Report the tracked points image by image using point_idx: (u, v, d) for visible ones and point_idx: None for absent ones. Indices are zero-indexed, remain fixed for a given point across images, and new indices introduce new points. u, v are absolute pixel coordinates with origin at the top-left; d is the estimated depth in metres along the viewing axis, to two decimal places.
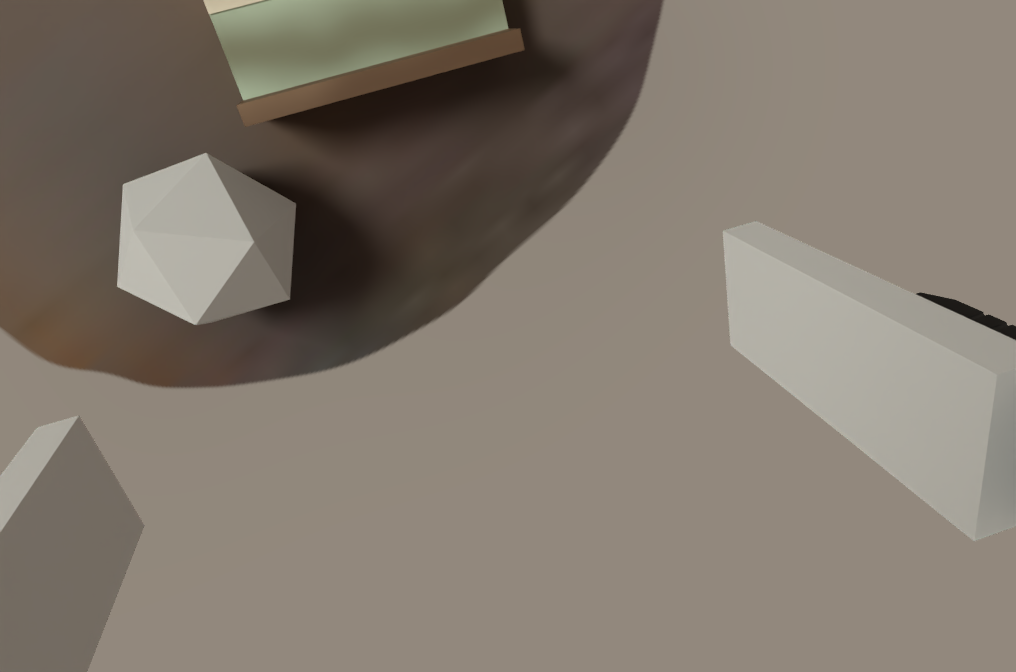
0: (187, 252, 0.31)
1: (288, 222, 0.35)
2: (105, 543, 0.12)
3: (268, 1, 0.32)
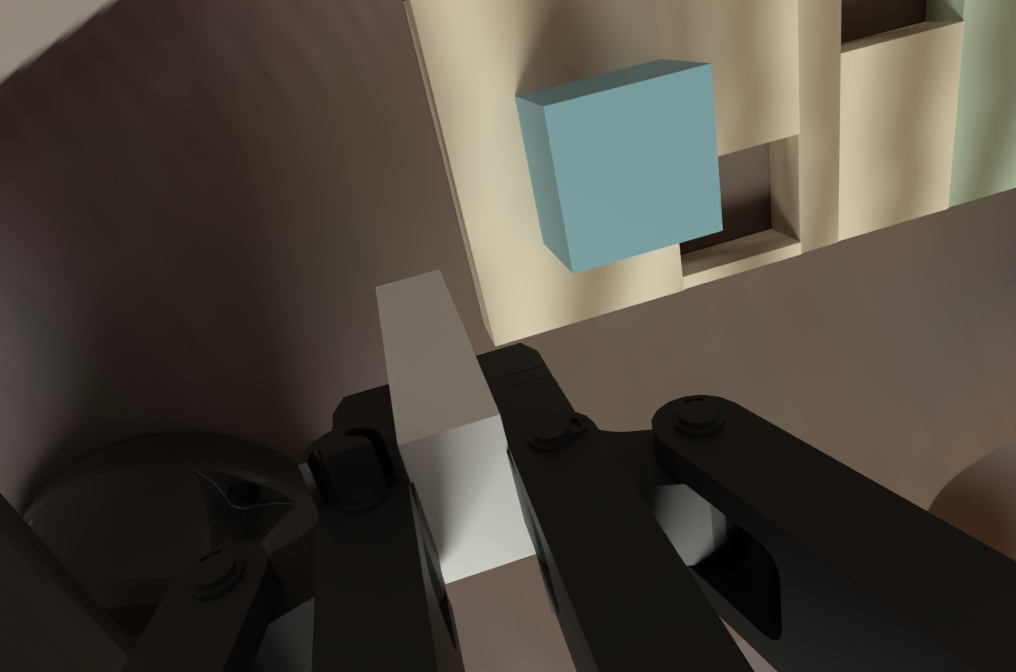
0: None
1: None
2: None
3: (952, 149, 0.32)
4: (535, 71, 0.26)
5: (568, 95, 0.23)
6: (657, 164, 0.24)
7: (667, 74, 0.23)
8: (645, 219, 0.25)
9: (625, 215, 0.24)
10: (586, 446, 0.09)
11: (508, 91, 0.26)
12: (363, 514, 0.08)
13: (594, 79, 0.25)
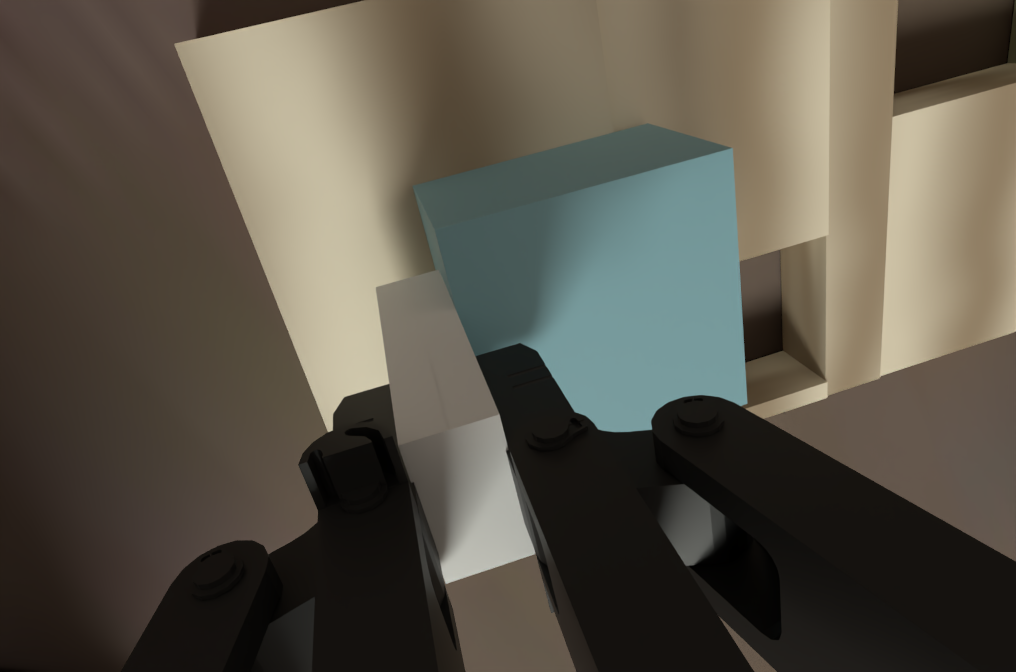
0: None
1: None
2: None
3: None
4: (407, 157, 0.16)
5: (485, 202, 0.13)
6: (640, 312, 0.14)
7: (656, 168, 0.13)
8: (621, 396, 0.15)
9: (588, 392, 0.15)
10: (586, 446, 0.09)
11: (363, 189, 0.16)
12: (363, 514, 0.08)
13: (539, 161, 0.15)
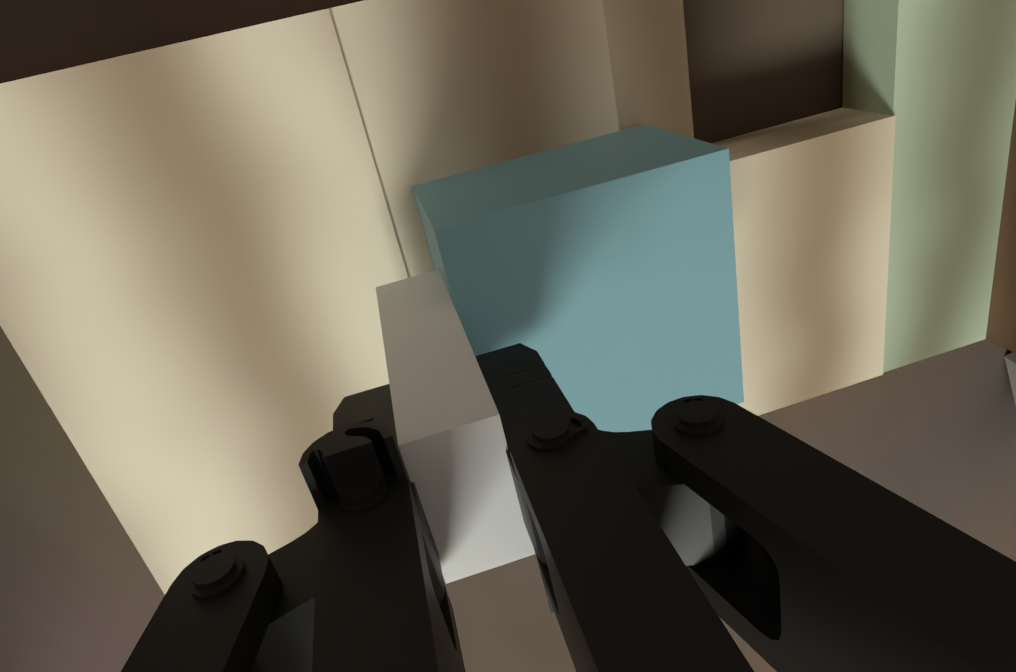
0: None
1: None
2: None
3: (886, 295, 0.21)
4: (154, 223, 0.15)
5: (484, 202, 0.14)
6: (637, 311, 0.14)
7: (653, 168, 0.13)
8: (618, 394, 0.15)
9: (586, 390, 0.15)
10: (586, 446, 0.09)
11: (109, 255, 0.15)
12: (364, 514, 0.08)
13: (537, 162, 0.16)
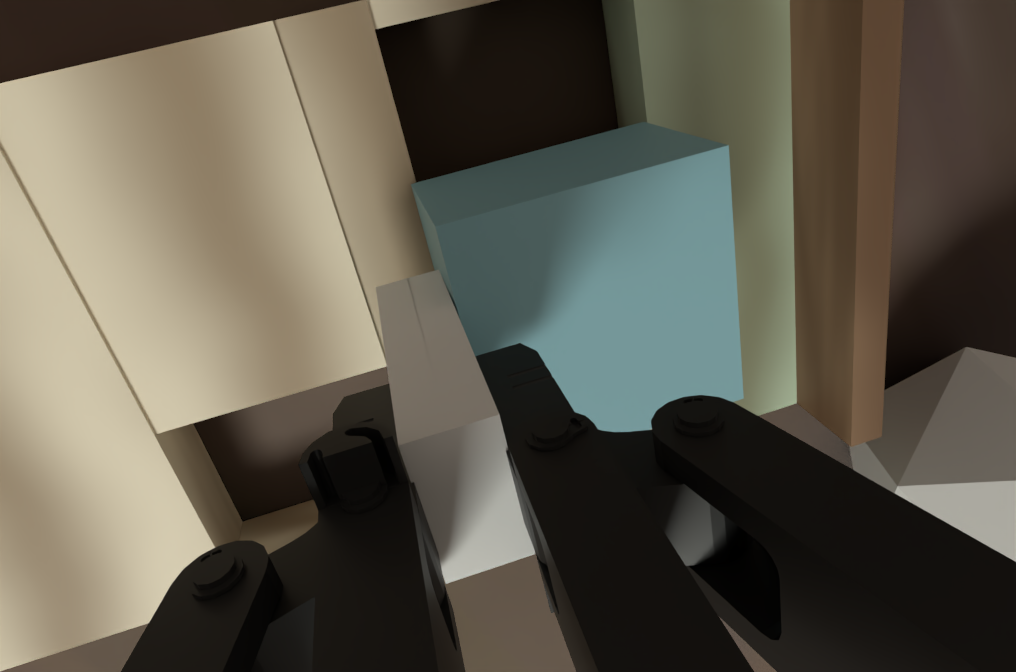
0: None
1: (1010, 371, 0.21)
2: None
3: None
4: None
5: (485, 199, 0.14)
6: (637, 308, 0.14)
7: (653, 165, 0.13)
8: (619, 391, 0.15)
9: (586, 388, 0.15)
10: (586, 446, 0.09)
11: None
12: (364, 514, 0.08)
13: (536, 159, 0.16)
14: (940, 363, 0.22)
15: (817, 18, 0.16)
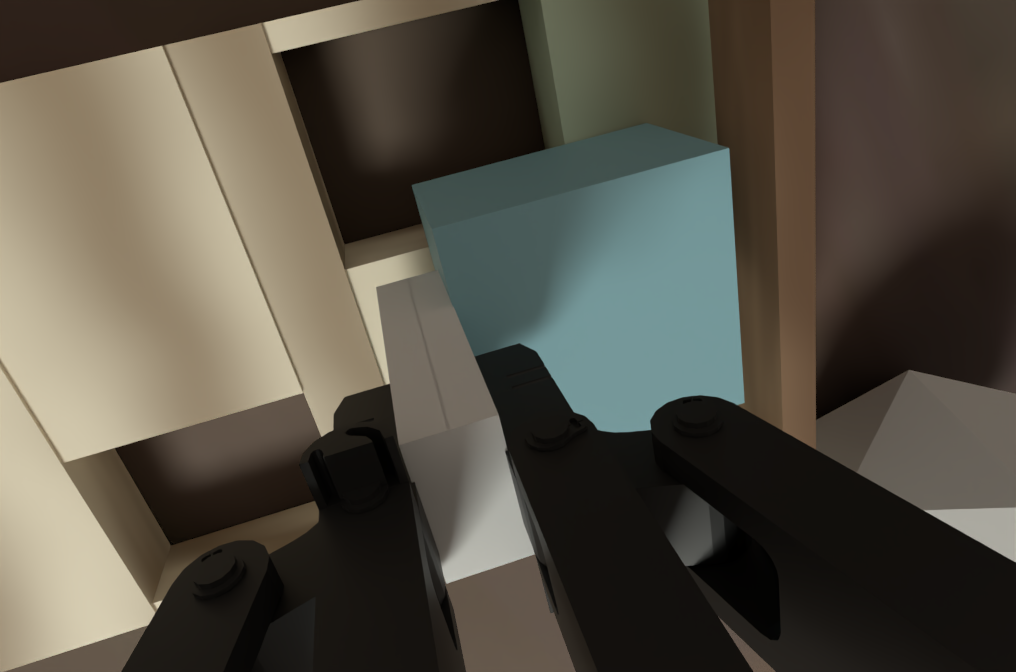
0: None
1: (952, 395, 0.20)
2: None
3: None
4: None
5: (483, 201, 0.13)
6: (637, 311, 0.14)
7: (652, 168, 0.13)
8: (617, 395, 0.15)
9: (585, 391, 0.15)
10: (585, 446, 0.09)
11: None
12: (364, 514, 0.08)
13: (537, 161, 0.16)
14: (884, 386, 0.22)
15: (733, 40, 0.15)
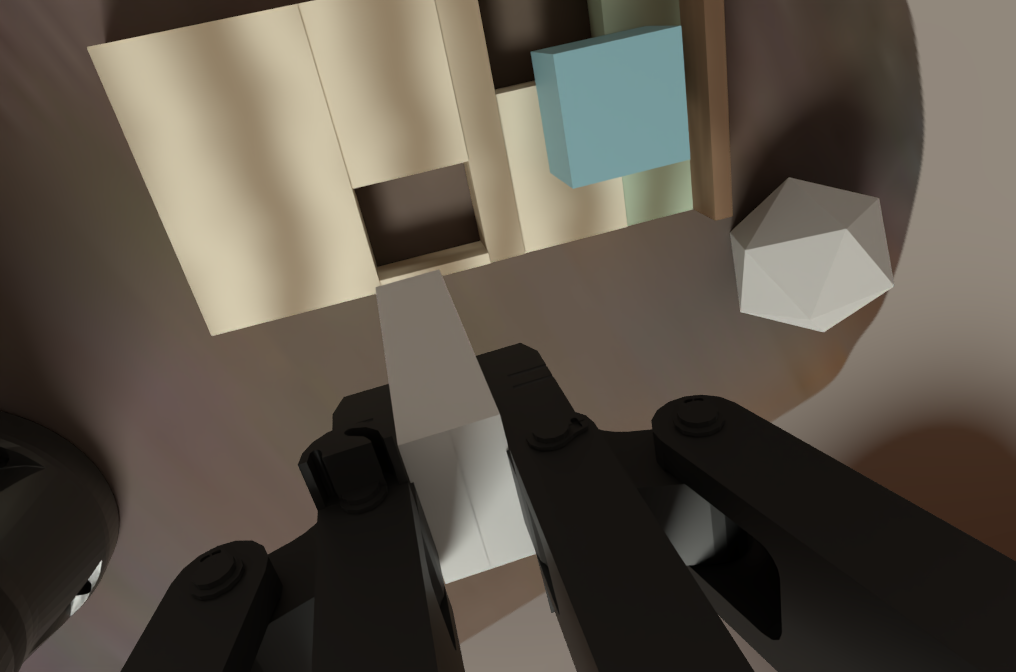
0: (838, 282, 0.36)
1: (810, 188, 0.37)
2: None
3: (622, 176, 0.37)
4: (210, 107, 0.31)
5: (572, 48, 0.30)
6: (639, 103, 0.31)
7: (647, 33, 0.30)
8: (629, 147, 0.32)
9: (614, 143, 0.32)
10: (586, 446, 0.09)
11: (187, 122, 0.31)
12: (363, 514, 0.08)
13: (593, 39, 0.32)
14: (776, 189, 0.39)
15: None
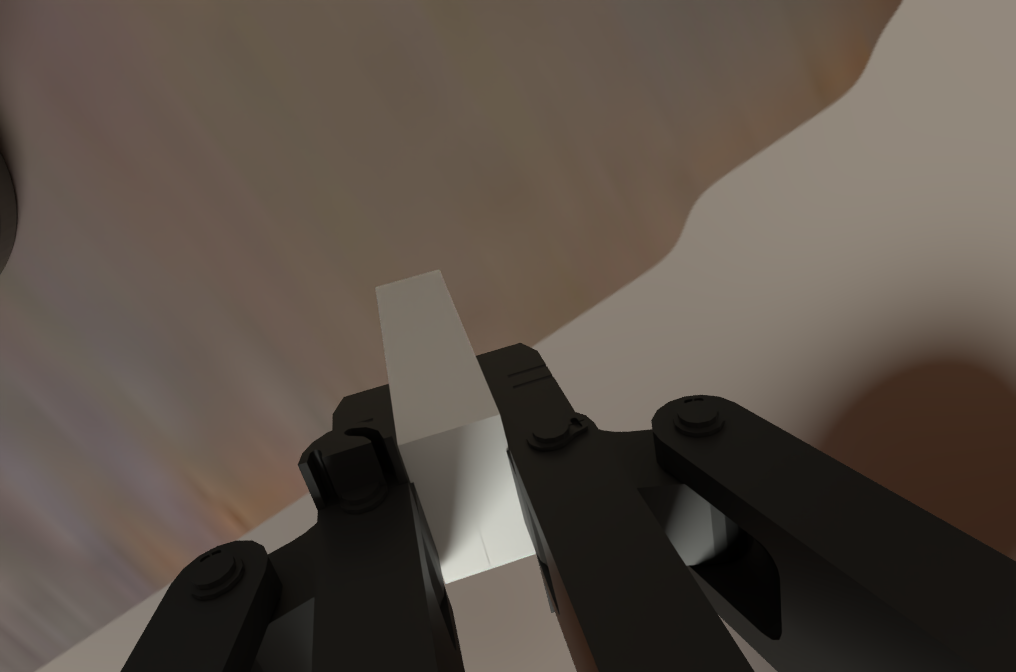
0: None
1: None
2: None
3: None
4: None
5: None
6: None
7: None
8: None
9: None
10: (586, 446, 0.09)
11: None
12: (363, 514, 0.08)
13: None
14: None
15: None
